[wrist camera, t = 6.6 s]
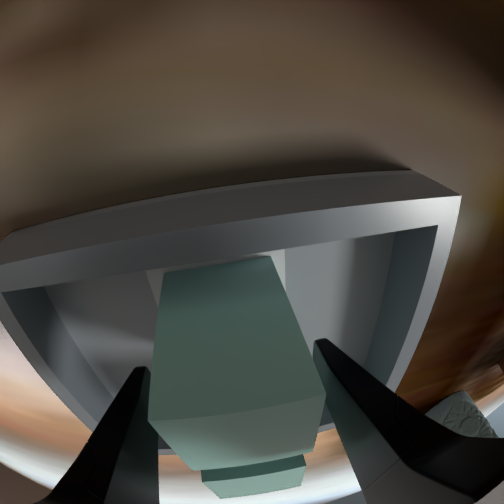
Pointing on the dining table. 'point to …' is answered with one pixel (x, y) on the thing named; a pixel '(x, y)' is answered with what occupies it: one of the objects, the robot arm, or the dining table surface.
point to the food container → (502, 364)
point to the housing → (225, 251)
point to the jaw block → (232, 368)
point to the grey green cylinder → (461, 416)
